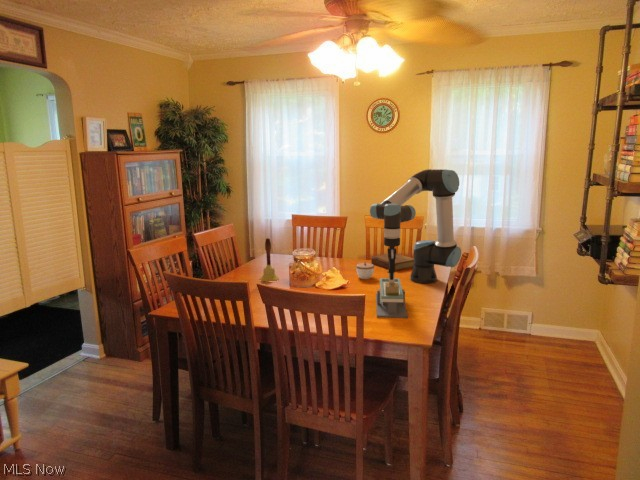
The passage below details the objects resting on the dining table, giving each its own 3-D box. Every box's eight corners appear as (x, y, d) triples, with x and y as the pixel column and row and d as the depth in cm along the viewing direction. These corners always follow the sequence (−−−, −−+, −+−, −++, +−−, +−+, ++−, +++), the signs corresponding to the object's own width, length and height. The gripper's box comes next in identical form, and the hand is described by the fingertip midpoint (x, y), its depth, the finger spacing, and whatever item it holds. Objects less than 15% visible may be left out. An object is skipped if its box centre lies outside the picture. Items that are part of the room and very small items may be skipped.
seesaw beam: (399, 284, 236) (399, 278, 236) (403, 303, 209) (403, 296, 209) (379, 284, 237) (380, 278, 237) (381, 303, 210) (381, 296, 210)
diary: (371, 264, 306) (371, 256, 305) (392, 260, 316) (392, 252, 314) (394, 272, 287) (394, 263, 286) (416, 267, 296) (416, 258, 295)
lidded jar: (373, 280, 268) (373, 265, 266) (355, 279, 270) (355, 264, 268) (374, 275, 278) (374, 260, 276) (357, 275, 280) (357, 260, 278)
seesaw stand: (402, 295, 239) (403, 281, 238) (407, 318, 208) (408, 301, 207) (375, 295, 241) (376, 280, 239) (376, 317, 210) (377, 300, 208)
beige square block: (398, 292, 218) (398, 282, 217) (398, 296, 212) (398, 286, 211) (385, 292, 218) (385, 282, 217) (385, 296, 212) (385, 286, 211)
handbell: (255, 281, 271) (253, 239, 266) (266, 275, 282) (264, 235, 277) (272, 283, 266) (271, 241, 261) (283, 277, 277) (282, 237, 272)
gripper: (383, 234, 220) (383, 281, 225) (384, 239, 207) (383, 289, 212) (399, 234, 219) (398, 281, 224) (401, 239, 206) (400, 289, 211)
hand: (391, 285), depth 218 cm, fingers closed
